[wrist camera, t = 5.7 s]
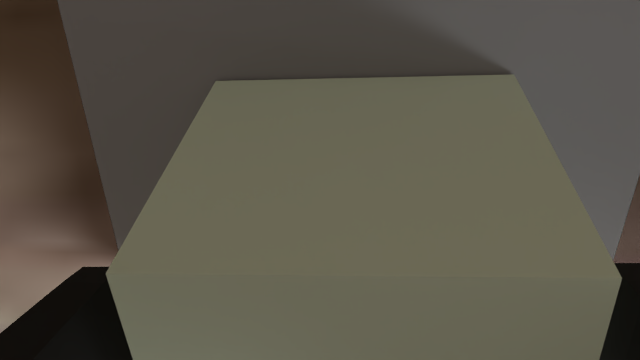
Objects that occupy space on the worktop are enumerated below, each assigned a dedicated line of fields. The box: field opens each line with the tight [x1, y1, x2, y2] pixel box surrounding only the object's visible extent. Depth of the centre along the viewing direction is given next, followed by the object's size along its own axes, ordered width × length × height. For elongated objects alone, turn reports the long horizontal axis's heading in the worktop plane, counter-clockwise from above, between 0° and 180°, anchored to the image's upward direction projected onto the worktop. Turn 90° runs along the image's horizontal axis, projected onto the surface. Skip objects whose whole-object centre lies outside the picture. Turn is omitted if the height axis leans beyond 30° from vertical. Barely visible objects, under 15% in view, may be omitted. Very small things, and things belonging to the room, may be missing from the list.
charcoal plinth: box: [57, 0, 640, 260], centre depth 13 cm, size 10×10×4 cm
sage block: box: [106, 74, 622, 360], centre depth 9 cm, size 5×5×5 cm
